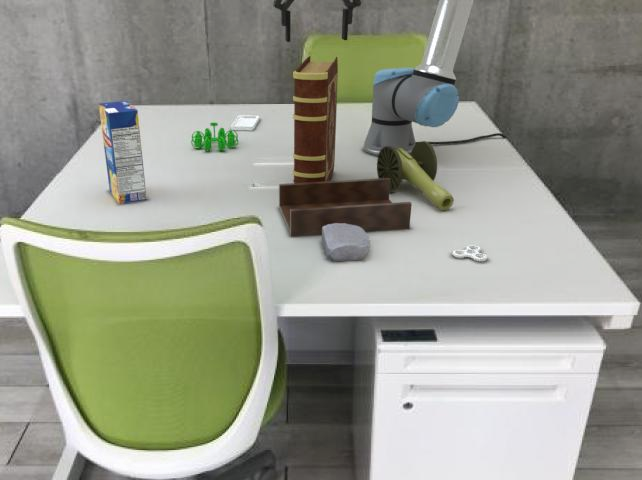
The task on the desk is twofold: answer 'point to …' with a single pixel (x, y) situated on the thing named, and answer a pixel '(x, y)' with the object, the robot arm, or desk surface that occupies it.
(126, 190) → the beverage box
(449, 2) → the robot arm
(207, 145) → the chandelier
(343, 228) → the stone block
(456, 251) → the fidget spinner
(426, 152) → the cannon
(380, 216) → the book rack
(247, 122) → the phone case
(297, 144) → the decorative book
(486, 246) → the desk surface
